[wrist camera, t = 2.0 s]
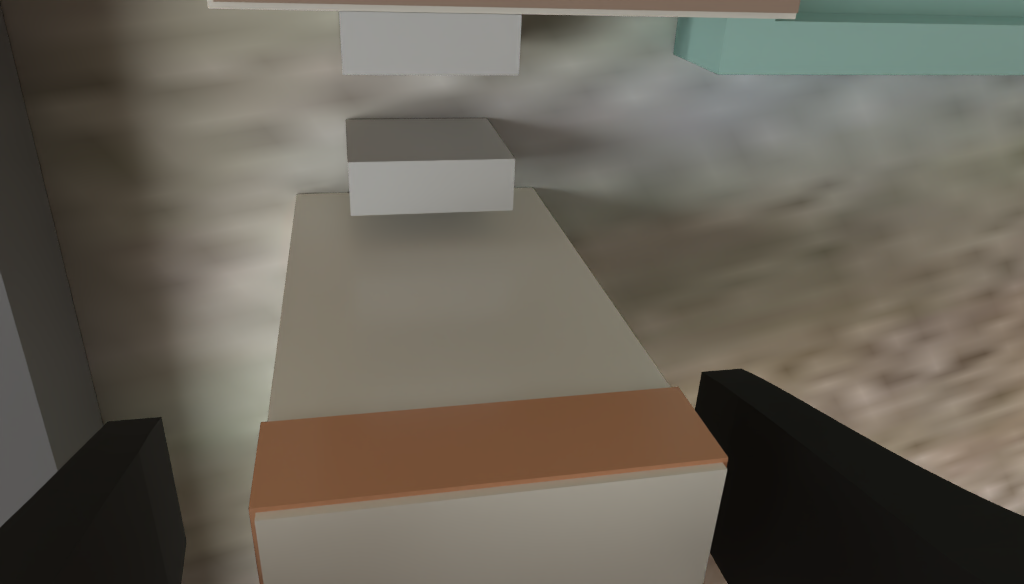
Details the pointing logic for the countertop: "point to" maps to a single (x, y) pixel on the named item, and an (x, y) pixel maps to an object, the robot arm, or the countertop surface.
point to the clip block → (373, 191)
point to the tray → (863, 39)
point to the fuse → (540, 7)
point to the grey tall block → (469, 413)
